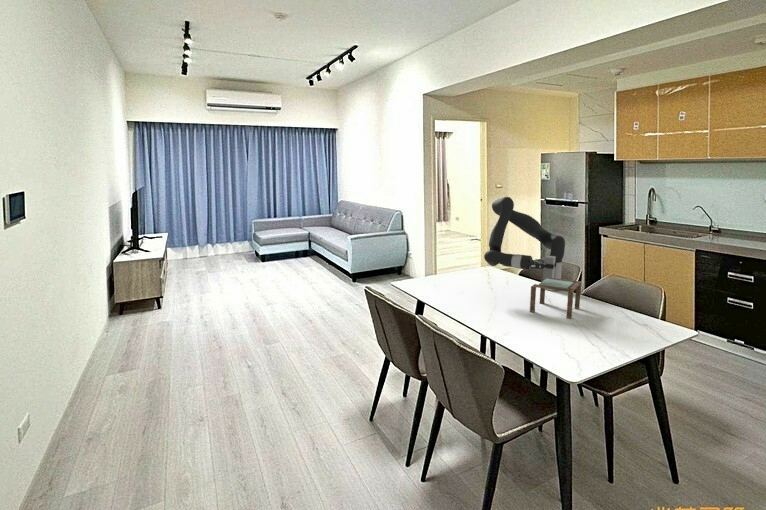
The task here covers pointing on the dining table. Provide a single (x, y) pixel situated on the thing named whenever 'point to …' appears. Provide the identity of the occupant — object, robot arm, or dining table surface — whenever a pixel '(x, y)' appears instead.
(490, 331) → the dining table surface
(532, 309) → the trapdoor frame
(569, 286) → the trapdoor
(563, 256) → the robot arm
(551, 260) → the grey rectangular block
